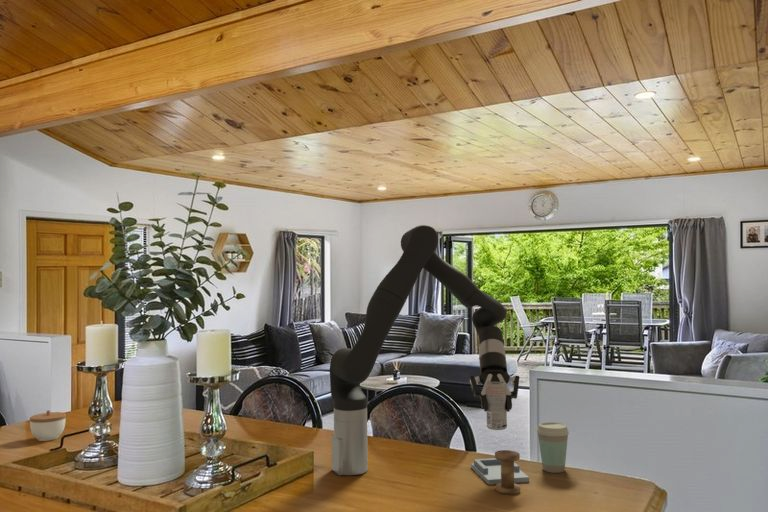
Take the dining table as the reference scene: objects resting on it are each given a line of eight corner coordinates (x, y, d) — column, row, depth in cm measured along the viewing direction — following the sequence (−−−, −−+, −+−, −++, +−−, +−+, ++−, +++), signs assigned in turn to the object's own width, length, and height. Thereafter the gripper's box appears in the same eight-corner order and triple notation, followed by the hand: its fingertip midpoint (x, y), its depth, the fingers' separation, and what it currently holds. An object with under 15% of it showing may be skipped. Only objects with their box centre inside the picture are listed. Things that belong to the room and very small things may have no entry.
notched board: (529, 481, 156) (528, 471, 156) (488, 484, 154) (488, 474, 154) (509, 465, 170) (508, 456, 170) (471, 467, 168) (471, 458, 168)
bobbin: (505, 496, 146) (504, 458, 146) (490, 488, 152) (490, 452, 152) (525, 492, 149) (524, 455, 149) (510, 484, 154) (509, 449, 154)
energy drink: (505, 425, 166) (505, 381, 167) (507, 430, 161) (507, 384, 161) (486, 425, 167) (485, 381, 167) (487, 430, 162) (486, 384, 162)
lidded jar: (72, 437, 207) (72, 409, 207) (40, 444, 198) (40, 415, 198) (55, 433, 212) (55, 406, 213) (23, 440, 203) (23, 412, 204)
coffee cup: (570, 466, 169) (569, 422, 169) (569, 475, 161) (568, 430, 161) (538, 463, 171) (537, 420, 172) (536, 472, 163) (535, 427, 164)
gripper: (467, 350, 173) (470, 402, 160) (519, 350, 171) (525, 402, 159) (467, 366, 178) (469, 417, 165) (517, 366, 176) (523, 418, 164)
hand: (497, 409), depth 162 cm, fingers closed on energy drink, 5 cm apart
